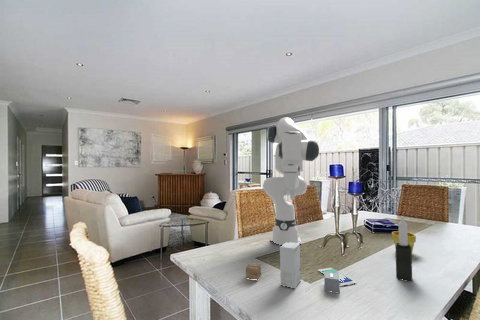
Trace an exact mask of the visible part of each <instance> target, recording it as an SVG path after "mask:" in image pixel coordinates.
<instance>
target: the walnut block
mask: <svg viewBox="0 0 480 320" xmlns="http://www.w3.org/2000/svg"><path fill="white" fill-rule="evenodd" d="M260 275H261V276H262V264H261V263H254V262H249V263H248V264H247V265H246V266H245V279H246V278H249V279H257V280H258V279H259V277H260ZM260 278H261V277H260ZM259 280H260V279H259Z"/></svg>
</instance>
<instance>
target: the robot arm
mask: <svg viewBox="0 0 480 320" xmlns="http://www.w3.org/2000/svg"><path fill="white" fill-rule="evenodd" d="M267 128H268V129H267V132H266V138H267V141H268V142H269V143H272V144H274V143H275V144H276V143H277V144H276V147H275V151H274V152H275V154H274V155H275V156H274V157H275V158H274V161H275V162H274V163H275V165H274V169H275V170H276V172H278V174H281V175H283V177H282V176H273V177H268V178H266V179H265V180H264V181H263V183H262V189H263V192H264V193H265V194H266V195H267V196H268V197H270V199H271V200H272V202H273V204H274V208H275V209H274V210H275V219H274V226H273V227H272V236H271V238H270V239H271V241H273V242H275V243H276V244H279V245H278V246H280V245H283V244H285V243H286V242H292V243H299V244H301V245H303V243H302V240H301V237H300V235H299V229H298V228H297V227H296V224H297V222H296V219H295V217H296V216H295V215H296V214H295V212H296V211H295V205H294V204H293V203H292V202H291V201H288V200H286V199H285V198H284V196H289V199H290V200H293V201H294V200H295V199H296V196H301V195H304V194H306V192H307V189H308V184H307V180H306V179H305V178H303V177H302V176H301V175H300V174H301V172H303V171H304V170H303V169H304V168H303V167H304V165H303V161H305V162H306V161H307V162H309V161H310V162H313V161H314V160H317V158H318V157H319V155H320V148H319V144H318V142H316V140H314V139H313V138H312V137H311V136H310V135H309V133H307V131H306V130H304V129H302V127H300V126H299V125H296V123H295V122H294V120H293V119H292V118H290V117H289V116H288V117H287V116H286V117H285V116H284V117H282V118H280V119H279V120H278V122H277V125H274V124H273V125H272V126H270V127H267ZM273 242H272V243H273ZM276 244H275V245H276Z"/></svg>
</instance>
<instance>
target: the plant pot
mask: <svg viewBox="0 0 480 320" xmlns="http://www.w3.org/2000/svg"><path fill="white" fill-rule="evenodd" d="M407 236H408V244H409V245H410V246H411V251H412V252H413V251H414V245H415V243H416V242H417V237H416V236H417V235H416V234H415V233H412V232H409V231H407ZM391 238H392V240H393V242H394V246H395V247H394V248H396V244H397V243H399V230H397V231H392V232H391Z"/></svg>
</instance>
